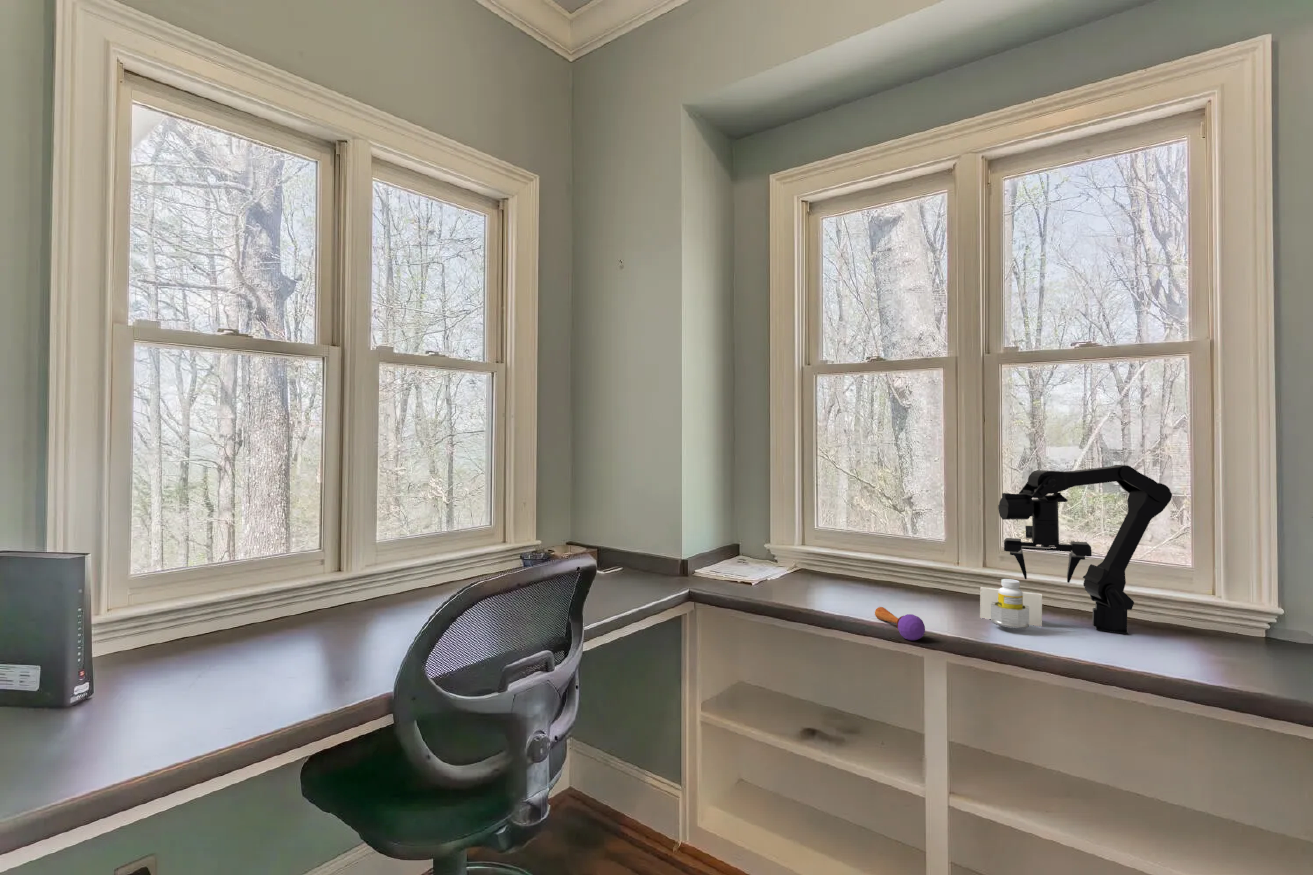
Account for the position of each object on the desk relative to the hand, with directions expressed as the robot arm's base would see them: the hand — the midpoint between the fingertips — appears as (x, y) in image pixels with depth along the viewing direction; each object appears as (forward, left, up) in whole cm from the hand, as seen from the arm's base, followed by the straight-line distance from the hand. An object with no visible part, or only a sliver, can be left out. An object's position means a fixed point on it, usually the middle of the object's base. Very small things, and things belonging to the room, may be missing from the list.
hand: (1046, 580), depth 158 cm
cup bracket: (+8, +6, -10) cm, 14 cm away
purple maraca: (+32, +24, -12) cm, 42 cm away
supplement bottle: (+8, +8, -10) cm, 15 cm away
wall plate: (+8, -1, -12) cm, 14 cm away
